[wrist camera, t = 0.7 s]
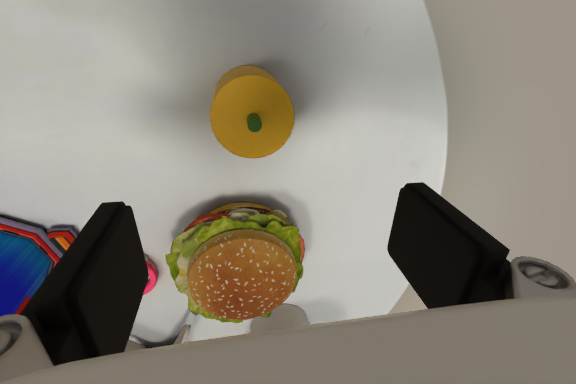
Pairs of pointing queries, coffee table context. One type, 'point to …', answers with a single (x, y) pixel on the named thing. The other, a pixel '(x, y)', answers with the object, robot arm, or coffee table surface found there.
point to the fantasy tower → (27, 260)
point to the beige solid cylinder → (280, 319)
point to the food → (237, 262)
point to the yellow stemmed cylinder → (251, 112)
